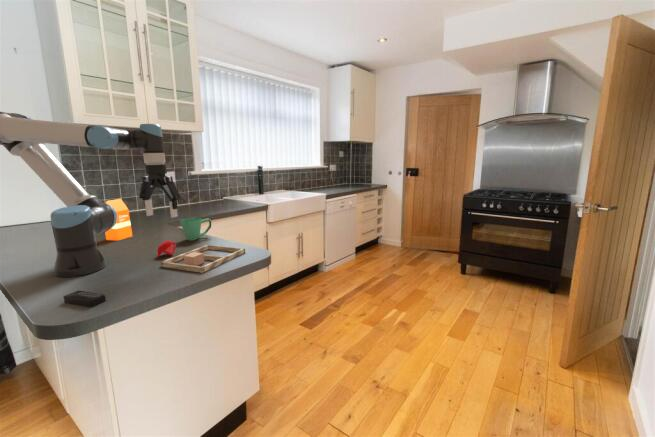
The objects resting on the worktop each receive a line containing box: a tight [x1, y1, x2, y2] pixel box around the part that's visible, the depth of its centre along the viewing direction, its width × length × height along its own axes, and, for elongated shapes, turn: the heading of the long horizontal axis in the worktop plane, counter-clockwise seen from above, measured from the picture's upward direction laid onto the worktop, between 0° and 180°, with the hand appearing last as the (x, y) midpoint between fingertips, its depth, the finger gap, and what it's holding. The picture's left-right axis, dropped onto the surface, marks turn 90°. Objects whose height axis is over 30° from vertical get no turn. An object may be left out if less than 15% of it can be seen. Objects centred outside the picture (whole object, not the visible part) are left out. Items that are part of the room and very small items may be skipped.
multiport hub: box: [63, 290, 107, 308], centre depth 92 cm, size 4×11×2 cm, turn 72°
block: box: [183, 252, 205, 266], centre depth 122 cm, size 5×5×4 cm
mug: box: [180, 217, 212, 241], centre depth 160 cm, size 15×10×10 cm
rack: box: [160, 244, 246, 274], centre depth 127 cm, size 25×20×2 cm
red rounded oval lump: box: [156, 240, 177, 258], centre depth 133 cm, size 8×6×6 cm
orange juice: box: [104, 198, 133, 241], centre depth 163 cm, size 8×9×20 cm
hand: (162, 216), depth 131 cm, fingers open, 13 cm apart
